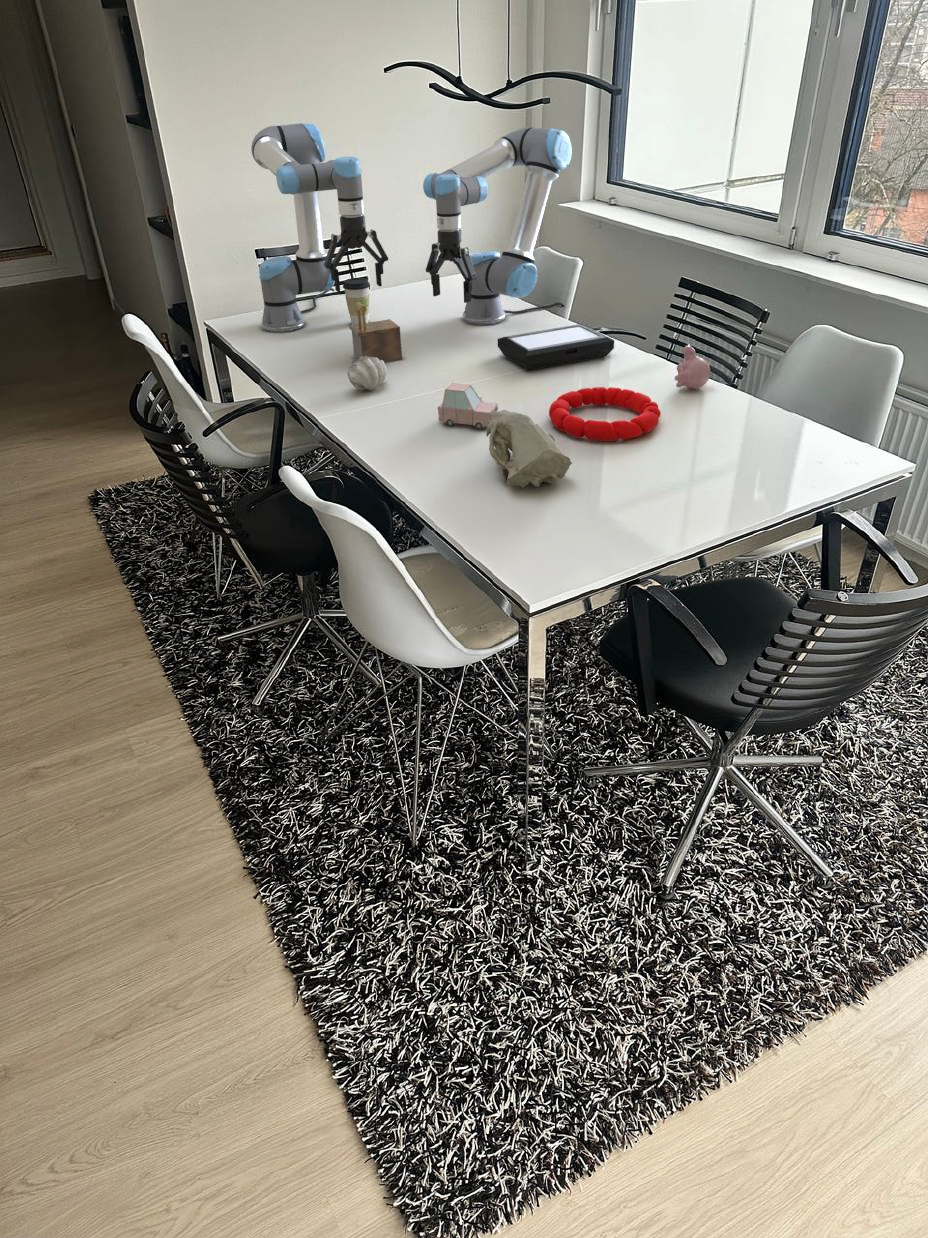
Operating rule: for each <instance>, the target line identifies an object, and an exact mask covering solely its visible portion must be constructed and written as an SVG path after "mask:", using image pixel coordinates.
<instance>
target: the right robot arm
mask: <svg viewBox="0 0 928 1238" xmlns="http://www.w3.org/2000/svg"><path fill="white" fill-rule="evenodd" d="M572 151H573V149H572V143H571V139H570V136H569V135H568V134H567V133H566V131H564V130H562V129H556V128H545V127H544V128H542V127H531V126H530V127H529V126H528V127H522V128H519V129H516V130H514V131H511V132H509V133H507V134H505V135H503V136H501V137H500V138H498V139H496V140H495V141H494V143H493V145H491V146H489V147H488V148H486V149H484V150H482V151H480V152H479V153H476V154H474V155H473V156H471V157H469V158H467V159H465V160H464V161H462V162H460V163H457V164H456V165H453V166H452V167H450V168H448V169H447V170H445V171H443V172H440V173H437V172H434V173H428V174H427V175H426V176H425V177H424V180H423V182H422V188H423V189H422V190H423V193H424V195H425V197H427V198H428V199H432V200H434V201H435V207H436V227H437V229H438V230H437V242H435V243H432V244H431V252H430V255H429V258H428V261H427V264H426V267H425V272H426V273H429V276H430V283H431V285H432V297H438V296H441V282H440V281H441V280H440V274H439V271H440V270H441V268H442V267H443V265H444V263H445V261H446V262H447V261H449V262H453V264H454V265H456V267H457V269H458V271H459V272H460V275H462V278H463V279H464V281H463V282H462V283H463V287H462V288H463V303H464V304H465V307H464V311H463V312H462V318H463V319H462V320H463V321H464V322H465V323H466V324H470V325H476V326H489V325H496V324H500V323H502V322H504V321H505V320H506V314H513V315H514V314H515V315H518V314H523V313H527V312H532V311H536V310H544V309H550V308H554V307H556V306H561V307H564V308H565V307H566V305H565V304H564V303H562V302H558V301H557V302H554V303H552V304H548V305H541V306H535V307H530V308H529V307H528V308H525V309H520V310H506V309H504V307H503V304H502V300H501V295H502V296H507V297H511V298H519V299H523V298H525V297H527V296H528V295H529V294H531V293H532V292H533V290H534V289H535V287H536V285H537V282H538V269H537V267H536V265H535V263H536V260H535V258H534V256H533V253H534V249H535V245H536V242H537V239H538V235H539V231H540V228H541V224H542V220H543V216H544V213H545V209H546V207H547V202H548V199H549V195H550V191H551V188H552V185H553V182H554V181H556V180H557V179H558V178H559V175H560V171H563V170H565V169H567V167H568V166H569V165H570V162H571V160H572V153H573V152H572ZM515 166H516V167H517V166H524V169H525V171H526V173H527V177H526V181H525V185H524V188H523V191H522V196H521V199H520V202H519V207H518V210H517V214H516V217H515V222H514V225H513V229H512V232H511V236H510V240H509V243H508V247H507V248H505V249H504V250H502V253H501V254H500V252H499V251H498V250H490V251H488V250H487V251H480V252H476V253H472V254H470V250H469V247H468V246H467V247H461V243H462V230H461V228H462V216H461V214H462V213H461V212H462V211H461V210H462V208H461V207H465V206H469V205H475V204H479V203H481V202H484V201H485V200H486V199H487V197H488V195H489V185H488V182H487V180H486V179H485V178H487V177H489V176H490V175H493V174H494V173H496V172H498V171H501V170H502V169H504V170H507V169H510V168H512V167H515Z"/></svg>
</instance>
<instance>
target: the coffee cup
mask: <svg viewBox="0 0 928 1238" xmlns="http://www.w3.org/2000/svg"><path fill="white" fill-rule="evenodd" d="M370 287H371V283H370V282H369V279H367V278H365V277H351V278H347V279H345V280H344V281H343V285H342V288H343V290H344V297H345V301H346V305H347V310H348V314H349V318H350V323H351V325H356V324H359V323H358V313H357V308H356V307H355V303H356V302H360V303H361V304H363V305H364V306H365V307H366V308H367V310H366V312H365V320H366V323H369V317H370V316H369V313H370ZM360 317H361V324H362V323H363V317H362V312H361V311H360Z"/></svg>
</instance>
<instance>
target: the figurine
mask: <svg viewBox="0 0 928 1238" xmlns="http://www.w3.org/2000/svg"><path fill="white" fill-rule="evenodd" d="M682 354H683V358H684V359H683V361H682V362H679V363H678V364H677V365H676V372H677V375H675V376H674V381H675V382H676V381H677V382H676V384H675V386H676V388H681V387H686V388H688V389H693V390H694V389H695V390H696V389H700V388H703V387H704V386H705V385H706V384H707V383H708V382H709V379H710V377H711V367H710V364H709V362H708V361H706V359H704V358H702V357H700V356H697V353H696V350H695V349H694V347H692V345H690V344H686V345H685V346H684V347H683V348H682Z"/></svg>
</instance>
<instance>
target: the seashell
mask: <svg viewBox="0 0 928 1238" xmlns="http://www.w3.org/2000/svg"><path fill="white" fill-rule="evenodd" d="M387 375H388V371H387V366H386V362H384V361H383V360H379V359H378V358H377V357H376V358H374V357H368V356H365V357H363V356H361V357H360V359H356V358H354V359H351V361H350V363H349V365H348V368H347V378H348V381H349V383H350V384H351V385H352V386H353V387H354V388H355V389H357V390H361V391H364V390H371V391H372V390H376V389H379V387H380V386H381V385H382V384H383V383H384V381H385V380H386V378H387Z"/></svg>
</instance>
